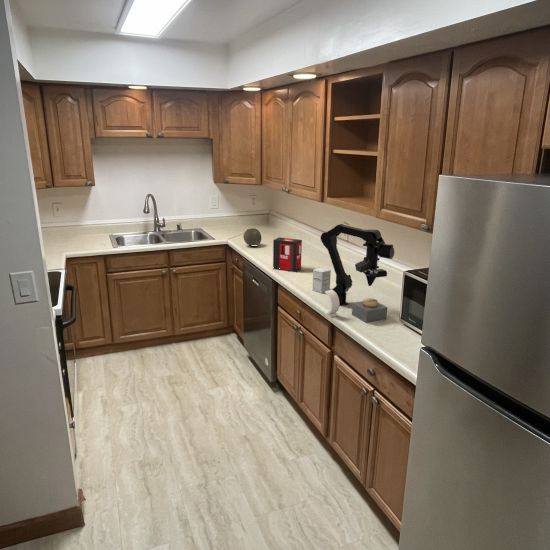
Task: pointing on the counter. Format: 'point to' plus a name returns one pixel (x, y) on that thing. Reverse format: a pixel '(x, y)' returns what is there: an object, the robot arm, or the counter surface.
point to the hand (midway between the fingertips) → (369, 285)
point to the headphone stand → (332, 303)
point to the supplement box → (321, 280)
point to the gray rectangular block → (369, 312)
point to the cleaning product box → (287, 254)
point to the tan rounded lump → (370, 302)
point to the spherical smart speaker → (252, 236)
